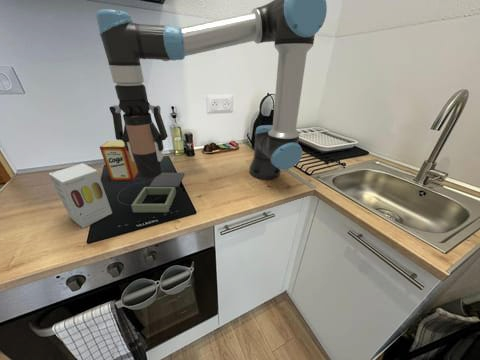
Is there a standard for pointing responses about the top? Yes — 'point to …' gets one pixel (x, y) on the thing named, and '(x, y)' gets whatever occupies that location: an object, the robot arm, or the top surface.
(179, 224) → the top surface
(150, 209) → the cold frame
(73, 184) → the supplement box
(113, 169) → the baking soda box
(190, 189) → the top surface
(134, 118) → the travel mug
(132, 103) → the robot arm
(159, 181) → the rubber mat
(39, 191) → the top surface
